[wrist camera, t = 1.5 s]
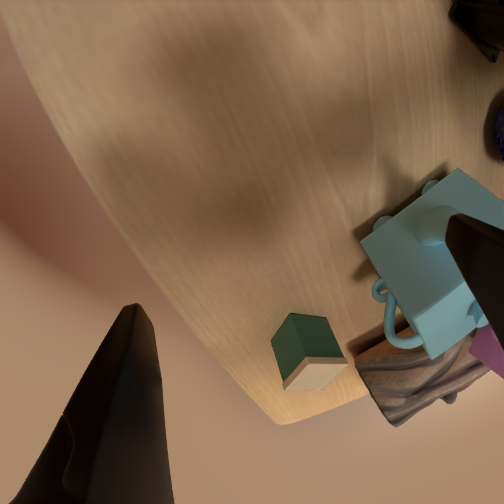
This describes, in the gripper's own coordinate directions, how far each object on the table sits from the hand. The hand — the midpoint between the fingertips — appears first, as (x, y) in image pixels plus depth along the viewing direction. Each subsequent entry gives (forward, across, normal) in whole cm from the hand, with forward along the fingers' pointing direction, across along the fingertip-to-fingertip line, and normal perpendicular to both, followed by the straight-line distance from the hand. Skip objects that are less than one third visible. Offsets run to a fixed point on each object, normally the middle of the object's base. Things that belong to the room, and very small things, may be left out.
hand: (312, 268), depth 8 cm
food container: (+13, -2, +21) cm, 25 cm away
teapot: (+13, -14, +11) cm, 23 cm away
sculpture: (+13, -22, +28) cm, 38 cm away
